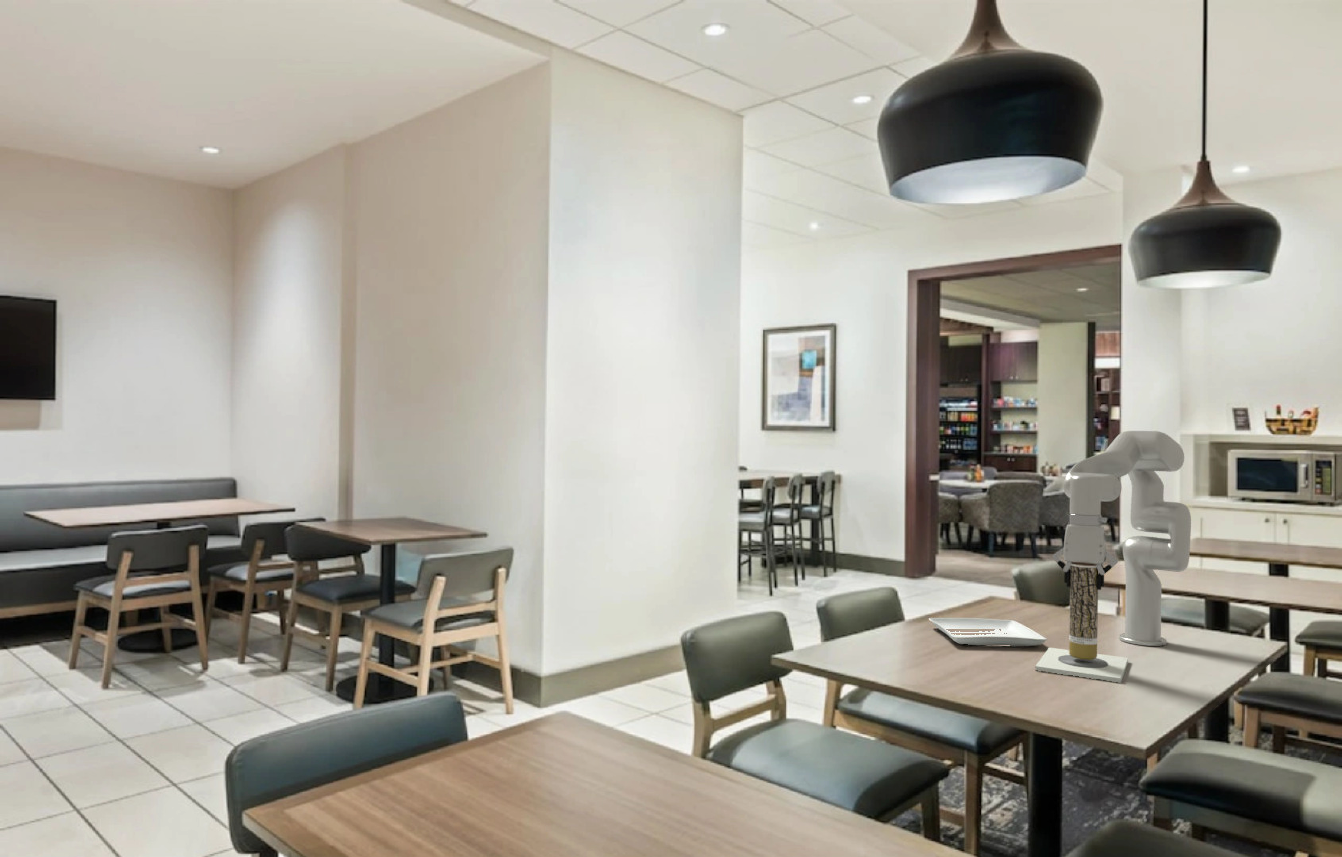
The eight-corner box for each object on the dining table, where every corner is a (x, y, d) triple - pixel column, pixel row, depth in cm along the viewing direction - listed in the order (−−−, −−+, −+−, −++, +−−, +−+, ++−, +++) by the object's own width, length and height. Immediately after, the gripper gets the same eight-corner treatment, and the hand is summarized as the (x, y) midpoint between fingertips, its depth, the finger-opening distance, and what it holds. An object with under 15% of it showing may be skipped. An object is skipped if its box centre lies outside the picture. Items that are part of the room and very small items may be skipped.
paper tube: (1100, 661, 232) (1101, 566, 232) (1072, 659, 233) (1073, 565, 233) (1093, 654, 238) (1094, 562, 238) (1066, 653, 240) (1067, 561, 240)
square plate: (1048, 651, 253) (1048, 638, 253) (952, 649, 253) (953, 636, 253) (1013, 630, 280) (1014, 617, 280) (927, 628, 281) (927, 616, 281)
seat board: (1049, 651, 251) (1049, 646, 251) (1127, 662, 241) (1128, 656, 241) (1035, 670, 230) (1035, 665, 230) (1120, 683, 220) (1121, 677, 220)
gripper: (1122, 522, 234) (1121, 589, 234) (1051, 517, 243) (1051, 582, 243) (1120, 524, 228) (1119, 593, 228) (1047, 520, 237) (1046, 586, 237)
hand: (1084, 587), depth 236 cm, fingers closed on paper tube, 6 cm apart
